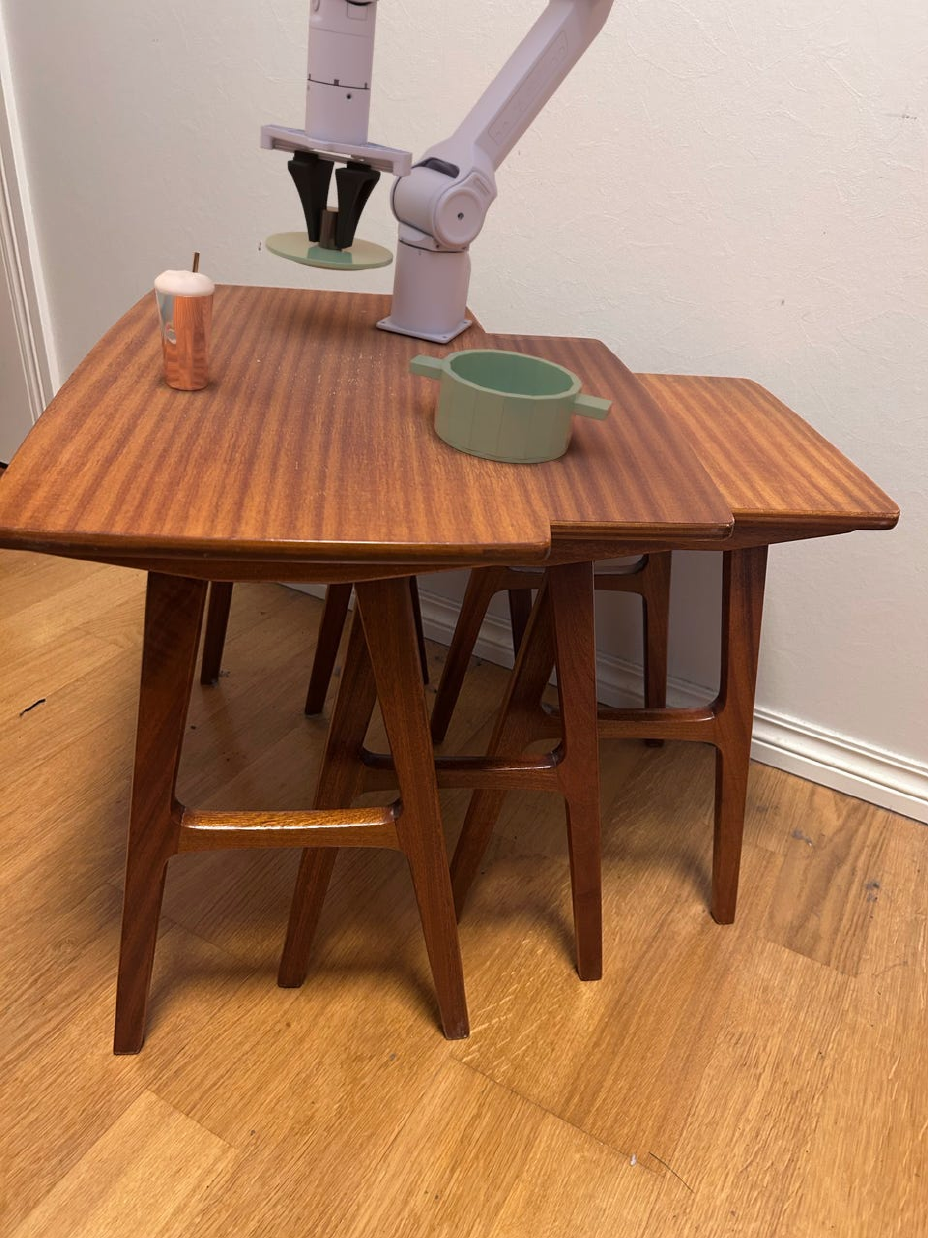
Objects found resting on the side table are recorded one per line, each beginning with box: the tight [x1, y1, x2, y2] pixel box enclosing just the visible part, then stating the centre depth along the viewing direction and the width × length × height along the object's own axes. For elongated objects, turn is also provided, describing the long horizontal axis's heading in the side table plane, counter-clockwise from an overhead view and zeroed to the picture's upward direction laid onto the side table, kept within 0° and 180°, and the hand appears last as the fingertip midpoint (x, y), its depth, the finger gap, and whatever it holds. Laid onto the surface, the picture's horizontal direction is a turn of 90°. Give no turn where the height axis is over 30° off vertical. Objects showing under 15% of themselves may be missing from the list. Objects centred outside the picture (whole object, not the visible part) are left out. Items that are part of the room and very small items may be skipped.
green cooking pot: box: [407, 348, 613, 464], centre depth 76 cm, size 11×17×5 cm
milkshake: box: [153, 251, 216, 391], centre depth 75 cm, size 4×5×10 cm
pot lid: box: [264, 205, 394, 272], centre depth 89 cm, size 12×12×5 cm
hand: (330, 243), depth 89 cm, fingers closed on pot lid, 2 cm apart
